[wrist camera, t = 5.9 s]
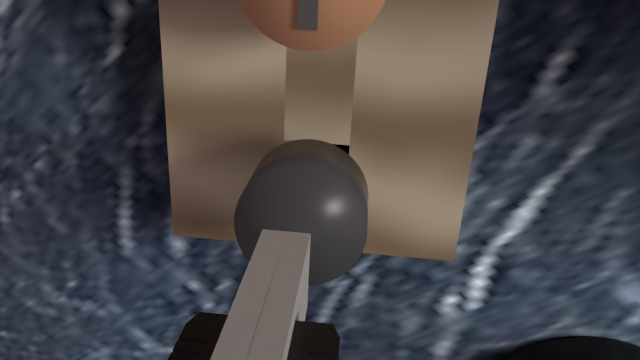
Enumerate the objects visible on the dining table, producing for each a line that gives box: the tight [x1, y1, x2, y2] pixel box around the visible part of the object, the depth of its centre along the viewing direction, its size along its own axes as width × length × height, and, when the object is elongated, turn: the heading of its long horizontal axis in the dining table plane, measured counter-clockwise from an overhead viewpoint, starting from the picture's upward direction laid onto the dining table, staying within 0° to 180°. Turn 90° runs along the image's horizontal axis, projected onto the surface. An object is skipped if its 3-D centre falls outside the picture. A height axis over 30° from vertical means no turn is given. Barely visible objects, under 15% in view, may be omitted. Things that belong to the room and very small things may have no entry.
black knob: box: [234, 139, 368, 285], centre depth 23 cm, size 5×5×7 cm
